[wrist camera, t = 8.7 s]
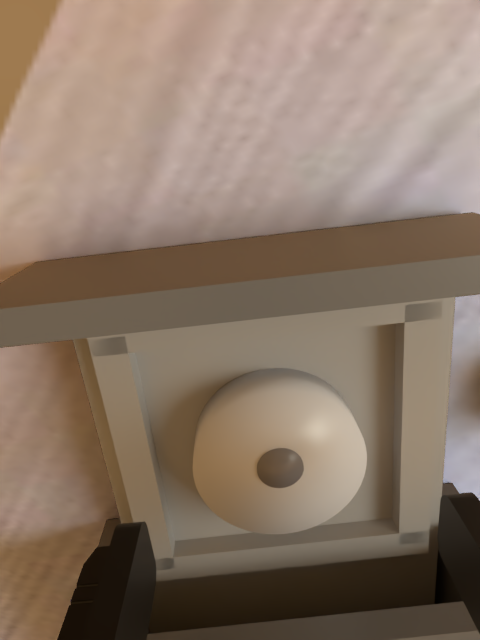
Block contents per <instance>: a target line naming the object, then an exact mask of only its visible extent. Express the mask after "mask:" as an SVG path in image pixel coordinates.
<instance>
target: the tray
mask: <svg viewBox="0 0 480 640" xmlns="http://www.w3.org/2000/svg"><path fill="white" fill-rule="evenodd" d="M477 294H480V214H476V213H472V212H471V213H463V214H454V215H445V216H436V217H427V218H419V219H410V220H401V221H392V222H383V223H375V224H366V225H357V226H348V227H340V228H331V229H322V230H313V231H304V232H296V233H287V234H278V235H269V236H260V237H252V238H243V239H234V240H225V241H216V242H208V243H199V244H190V245H181V246H173V247H164V248H155V249H146V250H137V251H129V252H120V253H111V254H102V255H93V256H85V257H76V258H67V259H58V260H49V261H41V262H36V263H34V264H32V265H31V266H29V267H27V268H25V269H24V270H22V271H20V272H19V273H17V274H15V275H14V276H12V277H10V278H9V279H7V280H5V281H3V282H2V283H0V348H3V347H12V346H20V345H29V344H38V343H47V342H56V341H65V340H73V343H74V347H75V351H76V354H77V358H78V362H79V366H80V369H81V373H82V377H83V381H84V385H85V388H86V392H87V396H88V400H89V403H90V407H91V411H92V415H93V419H94V422H95V426H96V430H97V434H98V437H99V441H100V445H101V449H102V452H103V456H104V460H105V464H106V468H107V471H108V475H109V479H110V483H111V486H112V490H113V494H114V498H115V502H116V505H117V509H118V513H119V517H120V520H121V524H122V523H133V522H144V521H145V522H146V524H147V527H148V531H149V536H150V540H151V544H152V548H153V553H154V557H155V561H156V587H155V593H154V599H153V605H152V611H151V617H150V623H149V630H150V634H153V633H163V632H172V631H182V630H192V629H201V628H211V627H221V626H230V625H240V624H250V623H259V622H269V621H278V620H288V619H298V618H307V617H317V616H327V615H336V614H346V613H356V612H365V611H375V610H384V609H394V608H404V607H413V606H423V605H433V604H434V602H435V588H436V573H437V559H438V539H437V535H438V523H439V512H440V500H441V497H442V485H443V471H444V456H445V441H446V427H447V412H448V398H449V383H450V368H451V354H452V339H453V324H454V310H455V297H459V296H468V295H477ZM270 368H287V369H294V370H300V371H303V372H307V373H310V374H312V375H314V376H317V377H319V378H321V379H322V380H324V381H325V382H327V383H329V384H330V385H331V386H332V387H333V388H335V389H336V390H337V391H338V393H339V394H340V395H341V396H342V397H343V399H344V400H345V402H346V403H347V405H348V407H349V409H350V411H351V413H352V415H353V417H354V419H355V421H356V423H357V425H358V427H359V429H360V431H361V434H362V436H363V438H364V442H365V445H366V452H367V466H366V471H365V475H364V478H363V481H362V483H361V486H360V487H359V489H358V491H357V493H356V494H355V496H354V497H353V498H352V500H351V501H350V502H349V503H348V504H347V505H346V506H345V507H344V508H343V509H342V510H341V511H340V512H339V513H337V514H336V515H335V516H333V517H332V518H330V519H329V520H327V521H325V522H323V523H321V524H319V525H317V526H315V527H312V528H309V529H306V530H303V531H299V532H294V533H288V534H262V533H255V532H251V531H247V530H244V529H241V528H238V527H236V526H234V525H232V524H230V523H228V522H226V521H224V520H223V519H221V518H220V517H218V516H217V515H216V514H215V513H214V512H213V511H212V510H211V509H210V508H209V507H208V506H207V505H206V504H205V502H204V501H203V499H202V498H201V496H200V495H199V492H198V490H197V488H196V485H195V481H194V478H193V454H194V444H195V434H196V428H197V423H198V420H199V417H200V415H201V412H202V411H203V409H204V407H205V405H206V404H207V402H208V401H209V400H210V399H211V397H212V396H213V395H214V394H215V393H216V392H217V391H218V390H219V389H221V388H222V387H223V386H224V385H226V384H227V383H229V382H230V381H232V380H234V379H236V378H238V377H240V376H242V375H244V374H247V373H250V372H254V371H257V370H263V369H270Z"/></svg>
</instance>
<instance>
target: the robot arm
mask: <svg viewBox="0 0 480 640" xmlns="http://www.w3.org/2000/svg"><path fill="white" fill-rule="evenodd" d="M437 539H438V547H439V551H440V555H441V557H442V560H443V562H444V564H445V566H446V568H447V570H448V572H449V574H450V576H451V578H452V580H453V582H454V584H455V586H456V588H457V590H458V592H459V594H460V596H461V598H462V600H463V602H464V604H465V606H466V608H467V610H468V612H469V614H470V616H471V618H472V620H473V622H474V624H475V626H476V628H477V630H478V632H479V634H480V501H479V500H478V498H477V497H476V496H475V495H474V494H473V493H461V494H450V495H443V496H442V497H441V500H440V512H439V523H438V535H437ZM155 587H156V561H155V557H154V553H153V548H152V544H151V540H150V536H149V531H148V527H147V524H146V522H145V521H144V522H133V523H122V524H117V525H116V527H115V530H114V533H113V536H112V539H111V543H110V546H103V547H97V548H96V549H95V551H94V552H93V553H92V554H91V556H90V557H89V558H88V560H87V561H86V562H85V564H84V565H83V568H82V571H81V573H80V576H79V579H78V582H77V588H76V589H75V591H74V594H73V596H72V599H71V605H70V606H69V608H68V611H67V614H66V616H65V619H64V622H63V625H62V628H61V631H60V634H59V637H58V639H57V640H147V634H148V629H149V623H150V617H151V611H152V605H153V599H154V593H155Z"/></svg>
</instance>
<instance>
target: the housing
mask: <svg viewBox="0 0 480 640" xmlns="http://www.w3.org/2000/svg"><path fill="white" fill-rule="evenodd" d="M450 494H459V492H458V491H457V489H456V488H455V486H454V485H453V483H447V484H443V485H442V496H443V495H450ZM117 524H121V520H120V519H110V520H107V521H106V524H105V527H104V530H103V533H102V536H101V539H100V542H99V545H98V547H103V546H110V543H111V539H112V536H113V533H114V530H115V527H116V525H117ZM147 640H480V634H479V632H478V630H477V628H476V626H475V624H474V622H473V620H472V618H471V616H470V614H469V612H468V610H467V608H466V606H465V604H464V602H463V600H462V598H461V596H460V594H459V592H458V590H457V588H456V586H455V584H454V582H453V580H452V578H451V576H450V574H449V572H448V570H447V568H446V566H445V564H444V562H443V560H442V557H441V555H440V551H439V547H438V559H437V573H436V588H435V602H434V604H433V605H423V606H413V607H404V608H394V609H384V610H375V611H365V612H356V613H346V614H336V615H327V616H317V617H307V618H298V619H288V620H278V621H269V622H259V623H250V624H240V625H230V626H221V627H211V628H201V629H192V630H182V631H172V632H163V633H153V634H150V630H149V629H148V634H147Z"/></svg>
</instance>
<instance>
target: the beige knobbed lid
mask: <svg viewBox="0 0 480 640" xmlns="http://www.w3.org/2000/svg"><path fill="white" fill-rule="evenodd" d="M366 466H367V452H366V445H365V442H364V438H363V436H362V434H361V431H360V429H359V427H358V425H357V423H356V421H355V419H354V417H353V415H352V413H351V411H350V409H349V407H348V405H347V403H346V402H345V400H344V399H343V397H342V396H341V395H340V394H339V393H338V391H337V390H336V389H335V388H333V387H332V386H331V385H330V384H329V383H327V382H325V381H324V380H322V379H321V378H319V377H317V376H314V375H312V374H310V373H307V372H303V371H300V370H294V369H287V368H270V369H263V370H257V371H254V372H250V373H247V374H244V375H242V376H240V377H238V378H236V379H234V380H232V381H230V382H229V383H227V384H226V385H224V386H223V387H222V388H221V389H219V390H218V391H217V392H216V393H215V394H214V395H213V396H212V397H211V399H210V400H209V401H208V402H207V404H206V405H205V407H204V409H203V411H202V412H201V415H200V417H199V420H198V423H197V428H196V434H195V444H194V454H193V478H194V481H195V485H196V488H197V490H198V492H199V495H200V496H201V498H202V499H203V501H204V502H205V504H206V505H207V506H208V507H209V508H210V509H211V510H212V511H213V512H214V513H215V514H216V515H217V516H218V517H220V518H221V519H223V520H224V521H226V522H228V523H230V524H232V525H234V526H236V527H238V528H241V529H244V530H247V531H251V532H255V533H262V534H288V533H294V532H299V531H303V530H306V529H309V528H312V527H315V526H317V525H319V524H321V523H323V522H325V521H327V520H329V519H330V518H332V517H333V516H335V515H336V514H337V513H339V512H340V511H341V510H342V509H343V508H344V507H345V506H346V505H347V504H348V503H349V502H350V501H351V500H352V498H353V497H354V496H355V494H356V493H357V491H358V489H359V487H360V486H361V483H362V481H363V478H364V475H365V471H366Z"/></svg>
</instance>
